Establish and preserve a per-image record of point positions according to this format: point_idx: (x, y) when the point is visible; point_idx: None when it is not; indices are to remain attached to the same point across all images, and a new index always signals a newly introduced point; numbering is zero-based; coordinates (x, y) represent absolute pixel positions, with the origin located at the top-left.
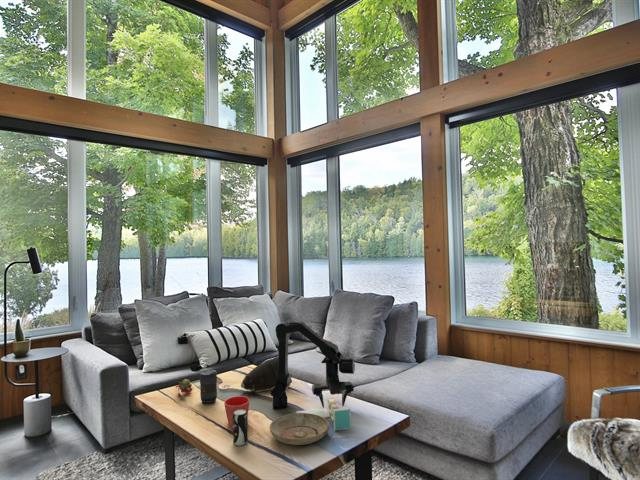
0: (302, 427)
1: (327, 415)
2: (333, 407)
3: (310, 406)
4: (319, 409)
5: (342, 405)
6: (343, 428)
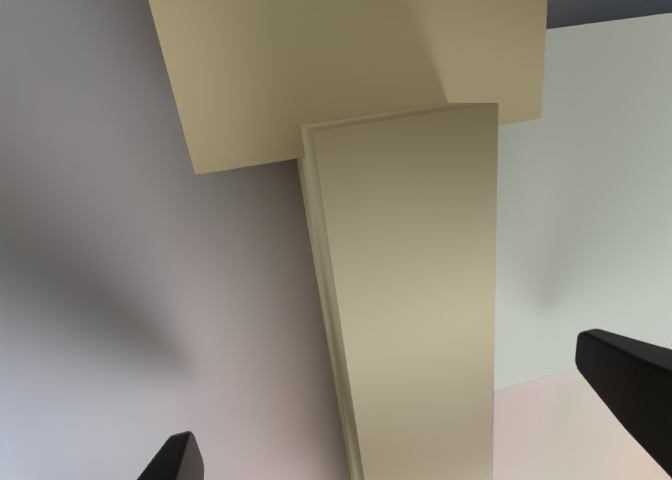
0: None
1: None
2: (467, 184)
3: None
4: None
5: (195, 449)
6: None
